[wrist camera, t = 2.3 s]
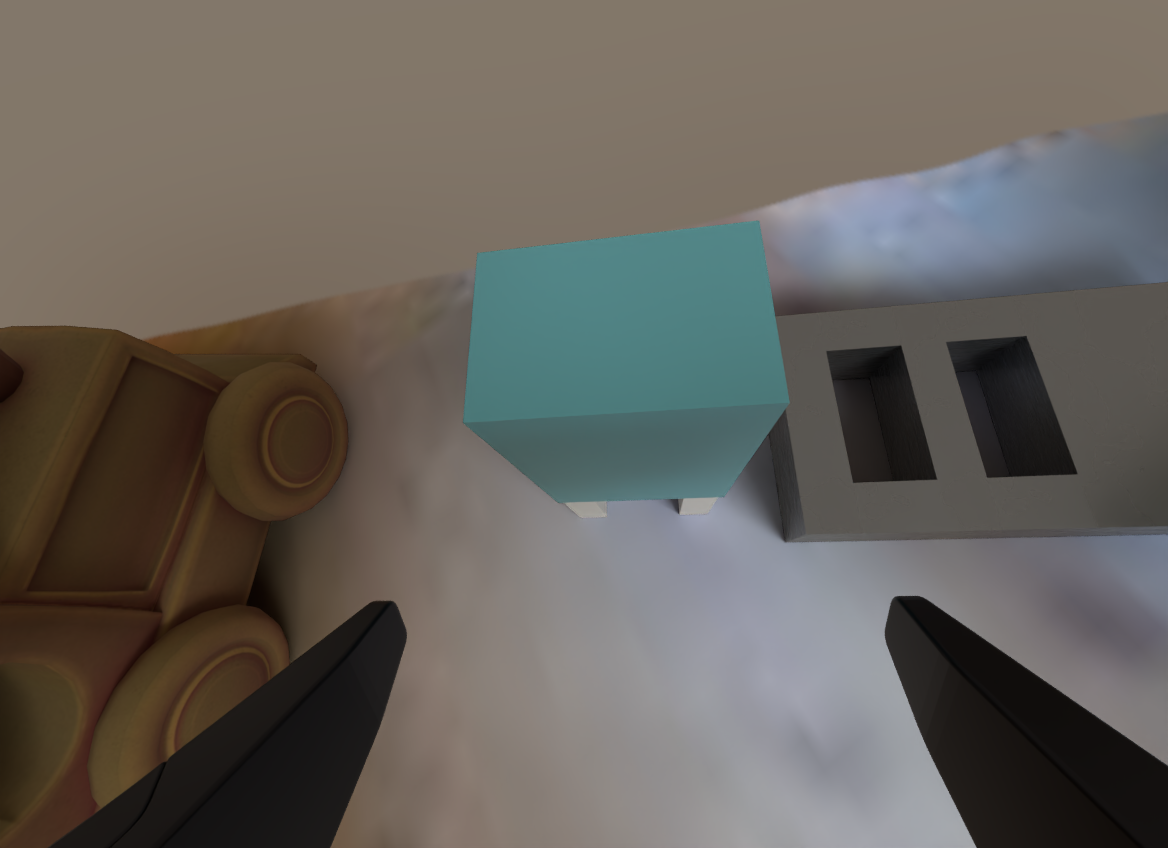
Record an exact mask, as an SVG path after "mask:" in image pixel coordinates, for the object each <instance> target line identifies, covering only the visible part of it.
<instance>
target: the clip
mask: <svg viewBox="0 0 1168 848" xmlns="http://www.w3.org/2000/svg"><path fill="white" fill-rule="evenodd" d="M789 403H790V401H789V395H788V389H787V383H786V378H785V372H784V366H783V360H782V354H781V348H780V342H779V336H778V330H777V324H776V318H775V312H774V306H773V300H772V294H771V288H770V282H769V276H768V270H767V265H766V259H765V253H764V247H763V241H762V235H761V229H760V223H759V221H751V222H742V223H734V224H725V225H716V226H708V227H699V228H690V229H682V230H673V231H664V232H656V233H647V234H638V235H630V236H621V237H612V238H604V239H596V240H586V241H579V242H569V243H561V244H552V245H543V246H534V247H526V248H517V249H509V250H499V251H491V252H483V253H477V263H476V275H475V286H474V298H473V310H472V322H471V334H470V346H469V357H468V369H467V381H466V393H465V405H464V417H463V423H464V424H465V425H466V426H467V427H469V428H470V429H471V430H472V431H473V432H474V433H476V434H477V435H478V436H479V437H480V438H482V439H483V440H484V441H485V442H486V443H488V444H489V445H490V446H491V447H492V448H494V449H495V450H496V451H497V452H498V453H499V454H501V455H502V456H503V457H504V458H505V459H507V460H508V461H509V462H510V463H511V464H513V465H514V466H515V467H516V468H517V469H519V470H520V471H521V472H522V473H523V474H524V475H526V476H527V477H528V478H529V479H530V480H532V481H533V482H534V483H535V484H536V485H538V486H539V487H540V488H541V489H542V490H543V491H545V492H546V493H547V494H548V495H549V496H551V497H552V498H553V499H554V500H555V501H557V502H558V503H564V504H566V505H567V506H568V507H569V508H570V509H571V510H572V511H573V512H575V513H576V514H577V515H578V516H579V517H580V518H593V517H607V501H626V500H655V499H678V503H679V515H693V514H708V512H709V511H710V509H711V508H712V506H713V504H714V503H715V501H716V500H717V498H718V497H724V496H725V495H726V493H727V492H728V490H729V489H730V488H731V486H732V485H733V483H734V482H735V480H736V479H737V478H738V476H739V475H740V473H741V472H742V470H743V469H744V468H745V466H746V465H747V463H748V462H749V460H750V459H751V458H752V456H753V455H754V453H755V452H756V450H757V449H758V447H759V446H760V445H761V443H762V442H763V440H764V439H765V437H766V436H767V435H768V433H769V432H770V430H771V429H772V427H773V426H774V425H775V423H776V422H777V420H778V419H779V417H780V416H781V415H782V413H783V412H784V410H785V409H786V407H787V406H788V405H789Z"/></svg>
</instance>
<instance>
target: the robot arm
mask: <svg viewBox="0 0 1168 848" xmlns="http://www.w3.org/2000/svg"><path fill="white" fill-rule="evenodd" d="M406 639H407V632H406V627H405V625H404V622H403V620H402V617H401V615H400V612H399V610H398V607H397V605H396V603H394V602H393V601H373V602H371V603H369V604H368V605H367V606H365V607H364V608H363V609H361V610H360V611H359V612H357V613H356V614H355V615H354V616H352V617H351V618H350V619H348V620H347V621H346V622H344V623H343V624H342V625H341V626H339V627H338V628H337V629H335V630H334V631H333V632H331V633H330V634H329V635H328V636H326V637H325V638H324V639H322V640H321V641H320V642H318V643H317V644H316V645H315V646H313V647H312V648H311V649H309V650H308V651H307V652H305V653H304V654H303V655H302V656H300V657H299V658H298V659H296V660H295V661H294V662H292V663H291V664H290V665H289V666H287V667H286V668H285V669H283V670H282V671H281V672H279V673H278V674H277V675H275V676H274V677H273V678H272V679H270V680H269V681H268V682H266V683H265V684H264V685H262V686H261V687H260V688H259V689H257V690H256V691H255V692H253V693H252V694H251V695H249V696H248V697H247V698H246V699H244V700H243V701H242V702H240V703H239V704H238V705H236V706H235V707H234V708H233V709H231V710H230V711H229V712H227V713H226V714H225V715H223V716H222V717H221V718H220V719H218V720H217V721H216V722H214V723H213V724H212V725H210V726H209V727H208V728H207V729H205V730H204V731H203V732H201V733H200V734H199V735H197V736H196V737H195V738H193V739H192V740H191V741H190V742H188V743H187V744H186V745H184V746H183V747H182V748H180V749H179V750H178V751H177V752H175V753H174V754H173V755H171V756H170V757H169V758H168V760H167V762H166V761H165V762H162V763H161V764H159V765H158V766H157V767H156V768H154V769H153V770H152V771H150V772H149V773H148V774H146V775H145V776H144V777H143V778H141V779H140V780H139V781H137V782H136V783H135V784H133V785H132V786H131V787H129V788H128V789H127V790H125V791H124V792H123V793H121V794H120V795H119V796H117V797H116V798H115V799H113V800H112V801H111V802H109V803H108V804H107V805H105V806H104V807H103V808H101V809H100V810H99V811H97V812H96V813H95V814H93V815H92V816H91V817H89V818H88V819H87V820H85V821H84V822H82V823H81V824H80V825H78V826H77V827H75V828H74V829H73V830H71V831H70V832H68V833H67V834H66V835H64V836H63V837H61V838H60V839H59V840H57V841H56V842H54V843H53V844H52V845H50V846H49V847H47V848H330V847H331V845H332V842H333V840H334V837H335V835H336V833H337V830H338V828H339V825H340V823H341V820H342V818H343V815H344V813H345V811H346V808H347V806H348V803H349V801H350V798H351V796H352V794H353V791H354V789H355V786H356V784H357V781H358V779H359V776H360V774H361V772H362V769H363V767H364V764H365V762H366V759H367V757H368V755H369V752H370V750H371V747H372V745H373V742H374V740H375V737H376V735H377V732H378V730H379V727H380V724H381V721H382V718H383V716H384V713H385V709H386V706H387V703H388V700H389V696H390V693H391V690H392V687H393V683H394V680H395V677H396V674H397V670H398V667H399V664H400V661H401V657H402V654H403V651H404V647H405V644H406ZM885 640H886V644H887V647H888V649H889V652H890V655H891V657H892V660H893V662H894V665H895V668H896V670H897V673H898V675H899V678H900V681H901V683H902V686H903V689H904V691H905V694H906V696H907V699H908V702H909V704H910V707H911V709H912V712H913V715H914V717H915V720H916V723H917V725H918V728H919V730H920V732H921V735H922V737H923V740H924V742H925V744H926V746H927V748H928V751H929V753H930V755H931V757H932V759H933V761H934V763H935V765H936V767H937V769H938V771H939V773H940V775H941V777H942V779H943V781H944V783H945V785H946V787H947V789H948V791H949V793H950V795H951V797H952V799H953V801H954V803H955V805H956V807H957V809H958V811H959V813H960V815H961V817H962V819H963V821H964V823H965V825H966V827H967V829H968V831H969V833H970V835H971V837H972V839H973V841H974V843H975V845H976V847H977V848H1168V766H1167V765H1166V764H1164V763H1163V762H1162V761H1160V760H1159V759H1157V758H1156V757H1154V756H1153V755H1151V754H1150V753H1149V752H1147V751H1146V750H1144V749H1143V748H1141V747H1140V746H1138V745H1137V744H1135V743H1134V742H1133V741H1131V740H1130V739H1128V738H1127V737H1125V736H1124V735H1122V734H1121V733H1120V732H1118V731H1117V730H1115V729H1114V728H1112V727H1111V726H1109V725H1108V724H1106V723H1105V722H1104V721H1102V720H1101V719H1099V718H1098V717H1096V716H1095V715H1093V714H1092V713H1091V712H1089V711H1088V710H1086V709H1085V708H1083V707H1082V706H1080V705H1079V704H1077V703H1076V702H1075V701H1073V700H1072V699H1070V698H1069V697H1067V696H1066V695H1064V694H1063V693H1062V692H1060V691H1059V690H1057V689H1056V688H1054V687H1053V686H1051V685H1050V684H1048V683H1047V682H1046V681H1044V680H1043V679H1041V678H1040V677H1038V676H1037V675H1035V674H1034V673H1033V672H1031V671H1030V670H1028V669H1027V668H1025V667H1024V666H1022V665H1021V664H1019V663H1018V662H1017V661H1015V660H1014V659H1012V658H1011V657H1009V656H1008V655H1006V654H1005V653H1004V652H1002V651H1001V650H999V649H998V648H996V647H995V646H993V645H992V644H991V643H989V642H988V641H986V640H985V639H983V638H982V637H980V636H979V635H977V634H976V633H975V632H973V631H972V630H970V629H969V628H967V627H966V626H964V625H963V624H962V623H960V622H959V621H957V620H956V619H954V618H953V617H951V616H950V615H948V614H947V613H946V612H944V611H943V610H941V609H940V608H938V607H937V606H935V605H934V604H933V603H931V602H930V601H928V600H927V599H925V598H923V597H920V596H897V597H894V598H893V599H892V601H891V605H890V609H889V613H888V618H887V622H886V627H885Z"/></svg>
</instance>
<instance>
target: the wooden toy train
mask: <svg viewBox="0 0 1168 848" xmlns="http://www.w3.org/2000/svg"><path fill="white" fill-rule="evenodd" d="M316 367H317V365H316V364H315V363H313V362H312V361H310V360H308V359H307V358H305V357H304V356H302V355H301V354H172V353H170V352H168V351H166V350H163V349H161V348H159V347H156V346H154V345H152V344H149V343H147V342H145V341H142V340H140V339H137V338H135V337H133V336H130V335H128V334H126V333H123V332H121V331H118V330H112V329H99V328H87V327H75V326H74V327H73V326H11V327H6V328H0V848H47V847H49V846H50V845H52V844H53V843H54V842H56V841H57V840H59V839H60V838H61V837H63V836H64V835H66V834H67V833H68V832H70V831H71V830H73V829H74V828H75V827H77V826H78V825H80V824H81V823H82V822H84V821H85V820H87V819H88V818H89V817H91V816H92V815H93V814H95V813H96V812H97V811H99V810H100V809H101V808H103V807H104V806H105V805H107V804H108V803H109V802H111V801H112V800H113V799H115V798H116V797H117V796H119V795H120V794H121V793H123V792H124V791H125V790H127V789H128V788H129V787H131V786H132V785H133V784H135V783H136V782H137V781H139V780H140V779H141V778H143V777H144V776H145V775H146V774H148V773H149V772H150V771H152V770H153V769H154V768H156V767H157V766H158V765H159V764H161V763H162V762H165V761H166V762H167V760H168V758H169V757H170V756H171V755H173V754H174V753H175V752H177V751H178V750H179V749H180V748H182V747H183V746H184V745H186V744H187V743H188V742H190V741H191V740H192V739H193V738H195V737H196V736H197V735H199V734H200V733H201V732H203V731H204V730H205V729H207V728H208V727H209V726H210V725H212V724H213V723H214V722H216V721H217V720H218V719H220V718H221V717H222V716H223V715H225V714H226V713H227V712H229V711H230V710H231V709H233V708H234V707H235V706H236V705H238V704H239V703H240V702H242V701H243V700H244V699H246V698H247V697H248V696H249V695H251V694H252V693H253V692H255V691H256V690H257V689H259V688H260V687H261V686H262V685H264V684H265V683H266V682H268V681H269V680H270V679H272V678H273V677H274V676H275V675H277V674H278V673H279V672H281V671H282V670H283V669H285V668H286V667H287V666H289V665H290V660H289V649H288V642H287V639H286V637H285V635H284V633H283V631H282V629H281V627H280V625H279V624H278V623H277V622H276V621H274V620H273V619H272V618H271V617H270V616H268V615H267V614H266V613H264V612H263V611H262V610H261V609H259V608H257V607H251V606H246V604H247V601H248V597H249V594H250V591H251V587H252V584H253V580H254V577H255V574H256V570H257V567H258V564H259V560H260V557H261V553H262V550H263V547H264V543H265V540H266V536H267V533H268V530H269V526H270V523H271V521H283V520H286V519H288V518H291V517H293V516H295V515H298V514H300V513H302V512H305V511H307V510H309V509H312V508H313V507H314V506H315V505H316V504H317V503H318V502H320V501H321V500H322V499H323V498H324V497H325V496H326V495H327V494H328V492H329V491H330V490H331V488H332V487H333V485H334V484H335V482H336V481H337V479H338V478H339V476H340V473H341V470H342V468H343V465H344V462H345V460H346V454H347V447H348V428H347V421H346V417H345V414H344V411H343V407H342V405H341V403H340V401H339V399H338V398H337V396H336V394H335V393H334V391H333V389H332V388H331V386H330V385H329V384H327V383H326V382H325V381H324V380H323V379H322V378H321V377H320V376H318V375H317V374H316V373H315V370H316Z"/></svg>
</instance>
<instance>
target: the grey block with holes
mask: <svg viewBox="0 0 1168 848" xmlns="http://www.w3.org/2000/svg"><path fill="white" fill-rule="evenodd" d="M775 318H776V324H777V330H778V336H779V342H780V348H781V354H782V360H783V366H784V372H785V378H786V383H787V389H788V395H789V401H790V403H789V405H788V406H787V407H786V409H785V410H784V412H783V413H782V415H781V416H780V417H779V419H778V420H777V422H776V423H775V425H774V426H773V427H772V429H771V430H770V432H769V437H770V443H771V450H772V457H773V464H774V470H775V477H776V484H777V490H778V497H779V504H780V511H781V517H782V524H783V531H784V538H785V542H828V541H876V540H923V539H970V538H1018V537H1065V536H1112V535H1160V534H1168V282H1165V283H1153V284H1141V285H1130V286H1118V287H1107V288H1095V289H1084V290H1072V291H1061V292H1049V293H1038V294H1026V295H1015V296H1003V297H992V298H980V299H969V300H957V301H946V302H934V303H923V304H911V305H900V306H888V307H877V308H865V309H854V310H842V311H831V312H819V313H808V314H796V315H785V316H775ZM974 370H977V373H978V376H979V379H980V382H981V386H982V389H983V392H984V395H985V398H986V401H987V404H988V407H989V410H990V414H991V417H992V420H993V423H994V426H995V429H996V432H997V435H998V438H999V442H1000V445H1001V448H1002V451H1003V454H1004V457H1005V460H1006V463H1007V466H1008V470H1009V473H1010V476H1011V477H996V478H987V476H986V472H985V469H984V466H983V462H982V459H981V456H980V453H979V449H978V446H977V443H976V439H975V436H974V433H973V430H972V426H971V423H970V420H969V416H968V413H967V410H966V407H965V403H964V400H963V397H962V393H961V390H960V387H959V384H958V380H957V377H956V374H955V372H959V371H974ZM855 378H870V382H871V386H872V390H873V395H874V399H875V403H876V407H877V412H878V416H879V420H880V424H881V429H882V433H883V437H884V441H885V446H886V450H887V454H888V459H889V463H890V467H891V471H892V476H893V480H894V481H889V482H863V483H853V480H852V475H851V470H850V465H849V461H848V456H847V451H846V446H845V441H844V436H843V431H842V426H841V422H840V417H839V412H838V407H837V402H836V397H835V392H834V387H833V382H832V380H840V379H855Z"/></svg>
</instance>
